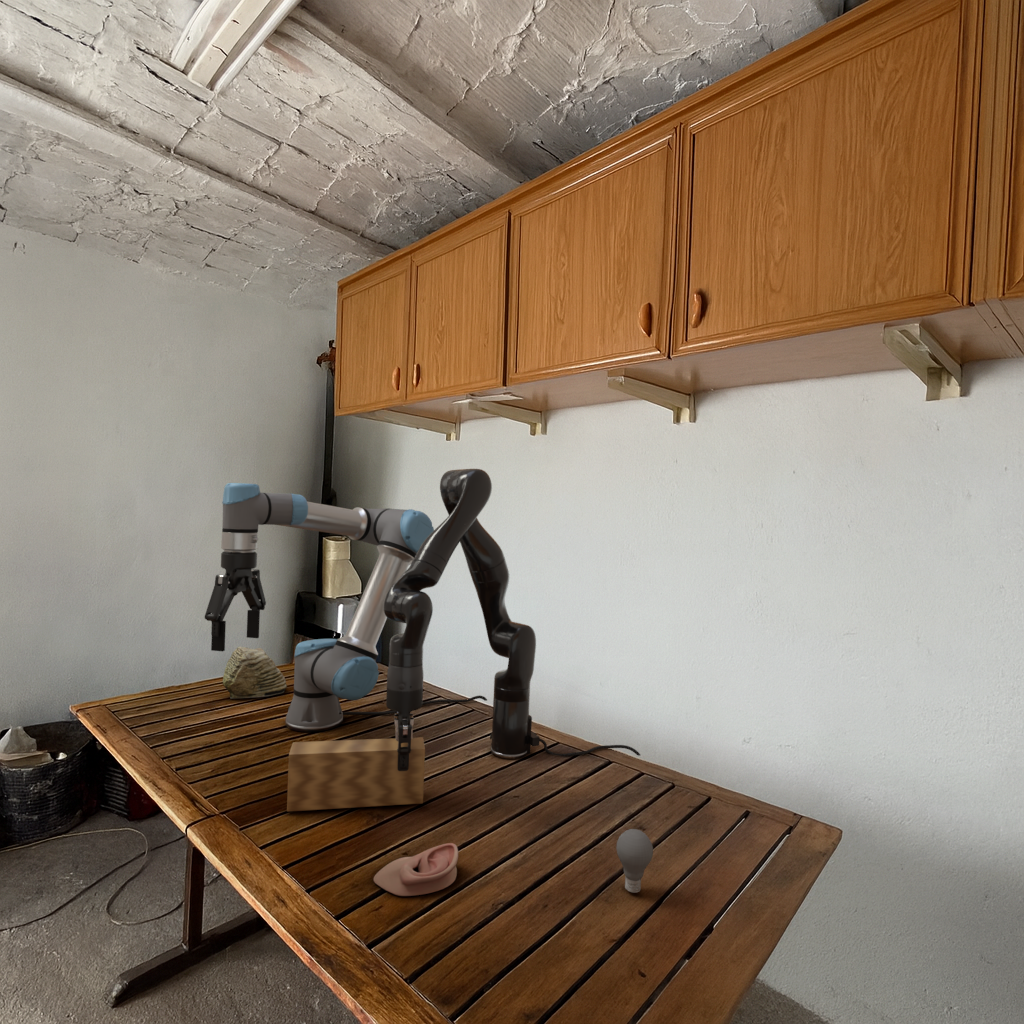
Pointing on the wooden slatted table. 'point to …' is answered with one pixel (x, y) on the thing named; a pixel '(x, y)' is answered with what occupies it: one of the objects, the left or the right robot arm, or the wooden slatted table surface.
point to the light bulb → (634, 857)
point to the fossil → (252, 674)
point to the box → (353, 774)
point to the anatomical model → (420, 872)
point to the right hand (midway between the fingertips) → (402, 763)
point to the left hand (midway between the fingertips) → (236, 644)
